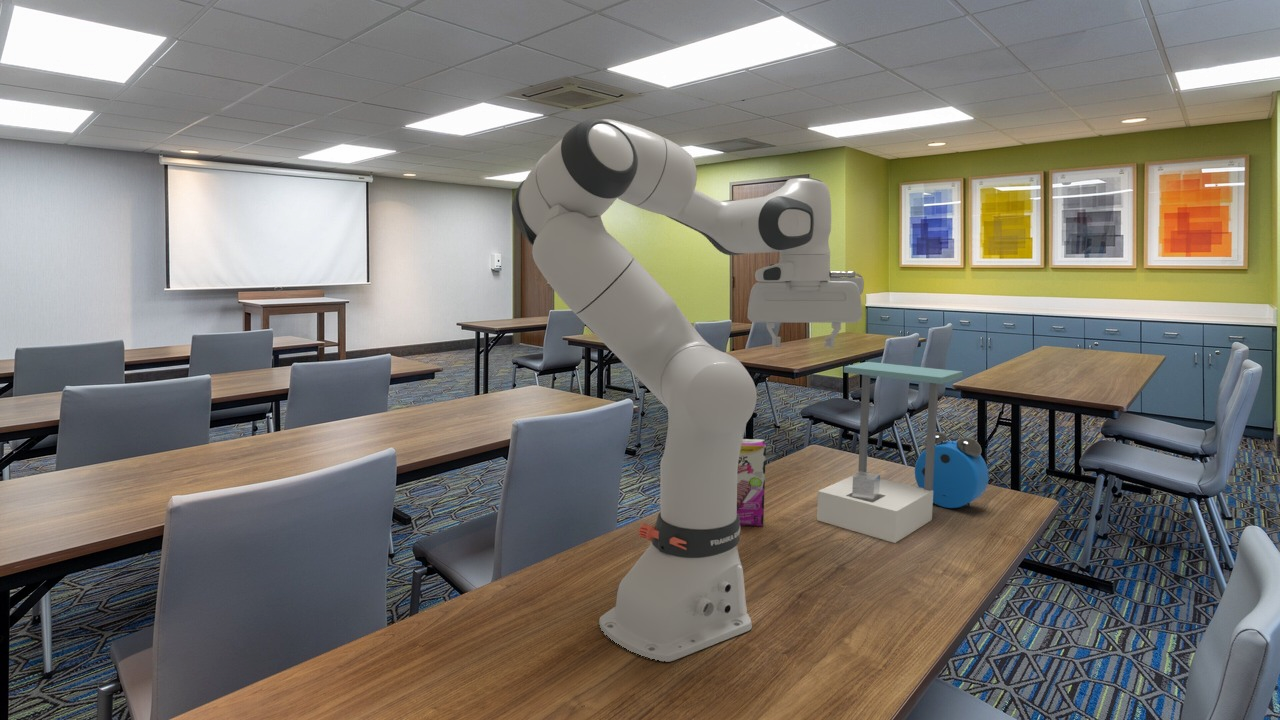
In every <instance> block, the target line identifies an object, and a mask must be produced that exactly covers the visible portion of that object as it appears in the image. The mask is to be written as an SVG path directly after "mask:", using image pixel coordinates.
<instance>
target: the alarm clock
mask: <svg viewBox="0 0 1280 720" xmlns="http://www.w3.org/2000/svg"><path fill="white" fill-rule="evenodd" d="M949 439H950V440H949ZM923 441H924V442H923V443H924V447H925V448H926V443H927V436H926V437H925V438H924V440H923ZM979 443H980V442H978V441H976V440H975V439H973V438H971V437H961V438H960V439H958V440H956V437H952V436H951V437H950V438H948V436H947V434H946V433H943V432H939V431H938V432H937V431H936V438H935V456H934V474H933V504H934V505H937V506H939V507H942V508H945V509H946V508H947V509H957V508H961V507H963V506H965V505H968V507H969V508H970V507H971V506H972V505H971V502H973V501H976V499H978V498H979V497H981V496H982V495H983V493H985V491H986V489H987V487H988V485H989V484H988V483H989V479H990V478H989V476H990V475H989V469H988V466H987V463H986V461H985V459H984V458H983V456H982V455H981V454H982V453H983V452H982V447H981V444H979ZM925 462H926V449H925V450H923V451H922V452H921V453H920V454H919V456H917V459H916V461H915V464H914V465H915V466H914V477H915V480H916V484H917V487H920V488H924V481H925Z"/></svg>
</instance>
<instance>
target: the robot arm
mask: <svg viewBox="0 0 1280 720" xmlns="http://www.w3.org/2000/svg"><path fill="white" fill-rule="evenodd" d="M697 174H698V171H697V167H696V163H695V160H694V158H693V156H692V155H691V154H690V153H689V152H688V151H687V150H686V149H684V148H683V147H681V146H680V145H679V144H678V143H676V142H673V141H672V140H670V139H667V138H666V137H663V136H661V135H659V134H657V133H655V132H653V131H651V130H647V129H645V128H643V127H640V126H637V125H633V124H630V123H626V122H622V121H619V120H614V119H611V118H610V119H609V118H603V119H598V118H594V119H593V118H591V119H590V118H589V119H586V120H584V121H581V122H579V123H577V124H576V125H574V126H573V127H571V128H570V129H569V130H568V131H566V132H565V134H564V135H563V138H561V140H559V141H558V142H557V143H556V144H555V145H554V146H553V147H551V148H550V149H549V151H548V152H546V153H545V154H543V155H542V156H541V157H540V158H539V159H538V161H537V162H536V163H535V164H534V166H533V167H532V169H531V170H530V172H529V173H528V174H527V176H526V178H525V179H524V180H523V181H522V182H520V184H519V185H518V188H517V189H516V191H515V194H514V195H513V196H514V197H513V199H512V203H511V213H512V217H513V219H514V222H515V224H516V226H517V228H518V230H519V231H520V233H521V234H522V235H523V236H524V238H525V239H527V241H528V243H530V245H531V246H532V249H531V250H532V251H531V253H532V258H533V261H534V264H535V265H536V266H537V268H538V270H539V271H540V273H541V274H542V276H543V278H544V279H545V280H546V281H547V283H548V284H549V285H550V287H551V288H552V289H553V291H554V292H555V293H556V294H557V295H558V297H559V298H560V299H561V301H562V302H564V304H565V305H566V306H567V307H568V308H569V309H570V310H571V311H572V312H573V313H574V314H575V316H577V317H578V319H580V320H581V322H582V323H583V324H584V325H585V326H586V327H587V328H588V329H589V330H590V331H591V332H592V333H593V334H594V335H595V336H597V338H598V339H599V340H600V341H601V342H602V343H603V344H604V345H605V346H606V347H607V348H608V349H609V350H610V351H611V352H612V353H613V354H614V356H616V357H617V358H618V359H619V361H621V362H622V363H623V364H624V365H625V367H627V369H628V370H629V371H631V373H632V374H633V375H634V376H635V377H636V378H637V379H638V380H639V381H640V382H641V383H642V384H643V385H644V386H645V387H646V388H647V389H648V390H649V391H650V392H651V394H653V395H654V396H655V397H656V399H657V400H658V401H660V403H661V404H662V405H663V406H664V407H666V409H667V413H668V414H667V415H668V416H667V417H668V423H667V433H666V439H665V445H664V451H663V456H662V458H661V459H660V477H659V478H660V486H659V487H660V489H659V490H660V492H659V493H660V494H659V495H660V497H659V498H660V499H659V500H660V501H659V503H660V511H659V513H658V514H657V517H656V518H657V519H656V521H655V524H654V526H652V525H650V524H648V523H646V522H645V523H642V524H641V525H640V526H639V528H638V536H639V537H640V538H643V539H647V540H648V541H650V542H651V543H650V545H649V546H648V548H647V549H646V550H645V551H644V553H643V554H642V555H641V556H640V557H639V558H638V560H637V561H636V562H635V563H634V564H633V566H632V567H631V569H629V571H628V572H627V573H626V575H624V577H623V578H622V580H621V581H620V583H619V586H618V588H617V591H616V592H617V593H616V600H615V606H614V607H612V608H611V609H609V610H608V611H606V612H605V613H604V614H602V615H601V616H600V617H599V620H598V621H599V622H598V625H600V626H599V629H600V628H601V629H600V630H601V632H602V631H603V632H604V633H603V632H602V633H603V634H604V636H606V635H607V636H608V637H609V638H610V639H611V641H612V640H613V641H614V642H615V643H614V642H613V641H612V642H613V643H614V644H616V643H617V644H616V645H618V644H619V645H621V646H622V647H621V646H620V647H621V648H623V647H624V648H626V649H627V651H628V650H629V651H628V652H630V651H631V653H632V652H634V653H637V654H639V655H641V656H640V657H642V656H645V657H648V658H650V659H649V660H652V659H655V660H654V661H657V660H659V661H660V662H664V661H665V662H666V663H667V662H673V661H676V660H678V659H681V658H684V657H686V656H688V655H691V654H694V653H696V652H699V651H701V650H704V649H706V648H710V647H711V646H715V645H716V644H718V643H721V642H724V641H726V640H729V639H732V638H734V637H736V636H739V635H741V634H744V633H748V632H749V631H750V630H752V629H753V625H752V619H751V617H750V615H749V614H748V606H747V601H746V600H747V599H746V590H745V579H744V578H745V577H744V569H743V565H742V562H741V558H740V556H739V550H738V544H739V543H740V539H741V538H740V537H741V536H740V533H741V525H740V521H739V516H738V514H737V472H738V462H739V455H740V450H741V445H742V441H743V439H744V436H745V430H746V427H747V424H748V422H749V420H750V419H751V417H752V415H753V413H754V412H755V409H756V405H757V399H758V398H757V397H758V396H757V388H756V385H755V382H754V379H753V378H752V377H751V375H750V372H749V371H748V370H747V368H746V367H745V366H744V365H743V364H742V362H741V361H740V360H739V359H737V358H736V357H735V356H732V355H731V354H728V353H726V352H723V351H721V350H719V349H717V348H715V347H714V346H712V345H711V344H710V343H708V342H707V340H706V339H704V338H703V336H701V334H700V333H699V332H698V331H697V329H695V327H694V326H693V325H692V324H691V322H690V321H689V319H688V318H687V317H686V316H685V315H684V313H683V312H682V310H681V309H680V308H679V306H678V305H677V303H676V302H675V300H674V299H673V297H672V296H671V295H670V294H668V293H669V292H667V291H666V290H665V288H663V287H662V286H661V285H660V283H658V281H657V280H656V279H655V278H654V277H653V275H652V274H650V273H649V271H648V270H647V269H646V268H644V266H643V265H642V264H641V263H640V262H639V261H638V260H637V259H636V257H634V256H633V255H632V254H631V252H629V250H628V249H626V248H625V246H623V245H622V243H620V242H619V241H618V240H617V239H616V238H615V237H614V236H613V235H612V234H610V233H609V232H608V230H607V229H606V227H605V225H604V223H603V220H602V216H603V214H605V212H607V211H608V209H610V208H611V206H612V205H613V204H614V203H615V201H616V200H617V199H618V200H621V202H622V201H623V202H624V203H627V204H629V205H631V206H634V207H636V208H639V209H642V210H645V211H648V212H651V213H655V214H657V215H662V216H665V217H667V218H668V219H671V220H672V221H675V222H677V223H679V224H681V225H683V226H685V227H687V228H690V229H692V230H694V231H696V232H698V233H699V234H701V235H702V236H704V237H705V238H706V239H707V240H708V242H709V243H710V244H712V246H713V247H714V248H715V249H716V250H717V251H719V252H720V253H722V254H724V255H727V256H739V255H744V254H761V253H762V254H765V253H779V262H778V263H772V264H769V265H767V266H764V267H762V268H758V269H757V270H755V273H754V277H755V280H756V281H757V282H756V283H754V284H753V286H752V287H751V290H750V293H749V299H748V303H747V304H748V307H747V319H748V320H749V321H750V322H751V323H766V329H767V331H768V333H769V335H770V336H771V338H772V339H771V340H772V342H771V343H772V345H771V346H772V348H781V345H782V343H781V341H782V338H781V336H777V335H775V332H774V331H773V329H775V326H776V323H809V324H810V323H811V324H813V323H821V324H823V323H824V324H825V323H826V324H828V323H829V324H831V328H832V329H833V330H832V332H831V333H830V335H829V336H825V337H824V348H825V349H826V348H827V349H831V348H832V349H833V348H834V345H835V338H836V337H837V336H838V334H839V332H840V331H841V328H842V323H847V324H853V323H854V324H857V323H858V322H859V321H860V320H861V319H862V318H863V317H862V313H863V312H862V311H863V310H862V309H863V308H862V299H861V295H862V294H863V293H864V285H865V284H864V283H865V281H864V277H863V276H862V275H861V274H859V273H857V272H856V271H854V270H847V271H841V270H831V251H830V245H829V238H830V235H831V231H832V200H831V194H830V191H829V186H828V185H827V184H826V183H825V182H824V181H822V180H821V179H820V180H819V179H816V178H812V177H793V178H790V179H788V180H786V182H785V183H784V185H782V187H780V188H779V189H777V190H775V191H773V192H771V193H769V194H768V193H767V194H766V195H765V196H760V197H759V196H758V197H752V198H744V199H728V200H716V199H714V198H713V197H710V196H709V195H706V194H705V193H703V192H701V191H699V190H698V189H696V186H697V179H698V178H697V177H698V175H697ZM856 276H857V277H856ZM607 636H606V637H607ZM608 637H607V638H608ZM609 638H608V639H609ZM610 639H609V640H610ZM619 645H618V646H619ZM624 648H623V649H624ZM626 649H625V650H626ZM634 653H633V654H634ZM637 654H636V655H637ZM639 655H638V656H639ZM645 657H644V658H645ZM648 658H647V659H648ZM659 661H658V662H659Z"/></svg>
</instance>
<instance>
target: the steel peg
mask: <svg viewBox="0 0 1280 720" xmlns="http://www.w3.org/2000/svg"><path fill="white" fill-rule="evenodd" d="M853 475H854V476H853ZM853 475H852V476H853V488H852V498H856V499H860V500H864V501H868V502H872V503H873V502H875V501H877V500H878V499H879V489H880V479H881V474H878V473H871V472H867V471H866V472H860V471H859V472H858V471H857V472H856V474H853Z"/></svg>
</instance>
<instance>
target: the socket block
mask: <svg viewBox="0 0 1280 720" xmlns="http://www.w3.org/2000/svg"><path fill="white" fill-rule="evenodd" d="M963 372H964V371H961V370H952V369H951V370H950V369H942V368H933V367H924V366H912V365H905V364H904V365H903V364H894V363H883V362H876V361H875V362H874V361H865V362H859V363H853V364H850V365H845V366H843V373H847V374H853V375H854V374H855V375H861V392H860V393H861V395H860V396H861V398H860V400H861V401H860V420H859V421H860V422H859V425H860V427H859V446H858V447H859V449H858V450H859V451H858V469H857V470H858V471H857V473H858V472H859V471H860V472H867V465H868V463H867V462H868V443H869V442H868V441H869V421H870V420H869V419H870V417H869V415H870V397H871V396H870V395H871V392H870V391H871V377H878V378H886V379H887V378H888V379H896V380H904V381H912V382H921V383H929V389H928V390H929V392H928V406H927V407H928V408H927V424H926V425H927V427H926V428H927V429H926V437H927V443H926V447H925V450H926V462H925V481H924V488H920V487H918V486H914V485H911V484H906V483H902V482H897V481H892V480H888V479H884V478H880V489H879V499H878V500H877V501H875V502H873V503H872V502H868V501H864V500H860V499H856V498H852V488H853V476H854V475H855V474H853V475H851V476H849V477H846V478H844V479H842V480H839V481H837V482H836V483H833V484H830V485H829V486H826V487H823V488H821V489H819V490H817V506H816V507H817V509H816V521H818V522H823V523H826V524H827V525H828V524H829V525H832V526H835V527H839V528H842V529H845V530H848V531H853V532H856V533H860V534H863V535H866V536H870V537H873V538H876V539H880V540H883V541H887V542H890V543H894V544H896V543H898V542H899V541H901V540H902V539H904V538H906V537H907V536H909V535H910V534H912V533H913V532H914V531H917V530H918V529H920V528H921V527H923V526H925V525H926V524H927V523H929V522H931V521H932V520H933V504H934V503H933V474H934V456H935V445H936V444H935V438H936V433H937V415H938V397H939V385H943V384H946V383H949V382H952V381H956V380H959V379H963V375H964V374H963Z"/></svg>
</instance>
